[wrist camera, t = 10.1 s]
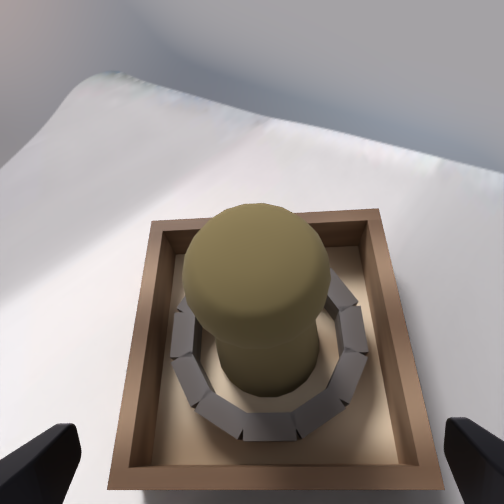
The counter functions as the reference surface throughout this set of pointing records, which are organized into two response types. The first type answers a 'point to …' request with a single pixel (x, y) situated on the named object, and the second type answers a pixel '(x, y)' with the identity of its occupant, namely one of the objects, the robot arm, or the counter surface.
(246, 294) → the olive knobbed peg
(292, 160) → the counter surface
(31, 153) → the counter surface
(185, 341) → the socket box
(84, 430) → the counter surface
